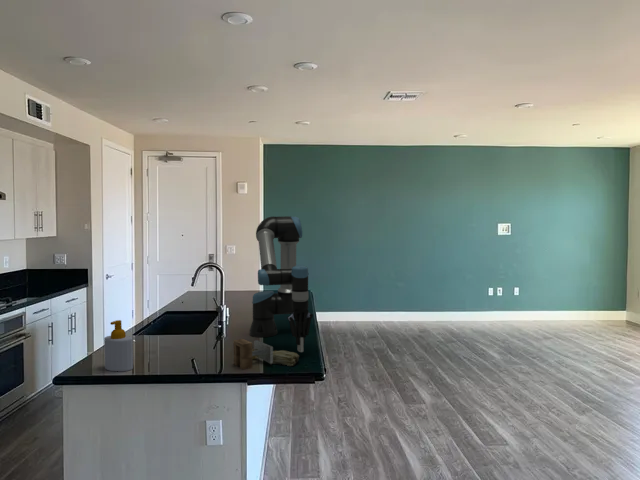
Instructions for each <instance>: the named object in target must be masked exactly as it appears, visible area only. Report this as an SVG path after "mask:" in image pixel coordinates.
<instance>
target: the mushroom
mask: <svg viewBox="0 0 640 480" xmlns="http://www.w3.org/2000/svg"><path fill="white" fill-rule="evenodd" d="M299 358H300V355H299V354H298V353H297V352H294V351H288V350H284V349H282V350H276V349H275V350H273V363H270V365H272V364H274V365H281V364H282V366H285V365H287V367H294V366H296V365H297V364H298V362H299V360H300V359H299Z"/></svg>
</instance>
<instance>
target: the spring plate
mask: <svg viewBox="0 0 640 480" xmlns="http://www.w3.org/2000/svg"><path fill="white" fill-rule="evenodd" d="M253 345H254V348H253V349H254V351H252V356H255V355H256V357H257V358H258V359H260V360H262V361H264V362H266V363H268V364H271V363H273V351H274V347H273V346H272V345H269V344H267V343H265V342H263V341H260V340H257V339H256V340H255V339H254V341H253Z"/></svg>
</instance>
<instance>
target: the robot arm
mask: <svg viewBox="0 0 640 480" xmlns="http://www.w3.org/2000/svg"><path fill="white" fill-rule="evenodd" d="M301 222H302V221H301V219H300V218H299V217H298V216H291V215H290V216H289V215H288V216H284V215H283V216H269V217H266V218H264V219H263V220H262V221H261V222H260V223H259V224H258V226H257V228H256V229H255V230H256V231H255V237H256V241H258V248H259V249H258V251H259V260H260V269H258V271H257V284H258V285H259V286H279V285H280V287H279V288H278V289H277V292H276V293H275V292H274V290H262V291H258V292H256V293H254V294H253V295H252V301H251V303H252V321H251V324H250V328H249V336H251V337H254V338H270V337H273V336H276V335H277V334H278V327H277V324H276V322H275V315H290V316H287V317H286V318H287V320H288V322H289V326H290V331H291V335H292V337H293V338H295V344H296V345H297V346H296V347H297V352H299V353H304V344H305V340H306V339H305V338H307V336H309V333H310V327H311V323H312V322H311V321H312V319H313V317H314V315H313V314H312V313H310V312H309V310H308V309H309V268H308V267H307V266H305V265H297V245H298V243H299V242H300V239H301V238H303V228H302V223H301ZM274 239H277V242H278V244H280V268H278V266H277V259H276V253H275V250H276V249H275V244H274Z"/></svg>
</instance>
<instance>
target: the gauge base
mask: <svg viewBox="0 0 640 480" xmlns="http://www.w3.org/2000/svg"><path fill="white" fill-rule="evenodd" d="M252 349H253V342H252V341H249V340H247V339H244V338H239V339H235V340H233V365H234V366H236V367H238V366H239V369H241V370H246V369H251V368H253V360H252ZM257 358H258V357H256V359H257Z"/></svg>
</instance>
